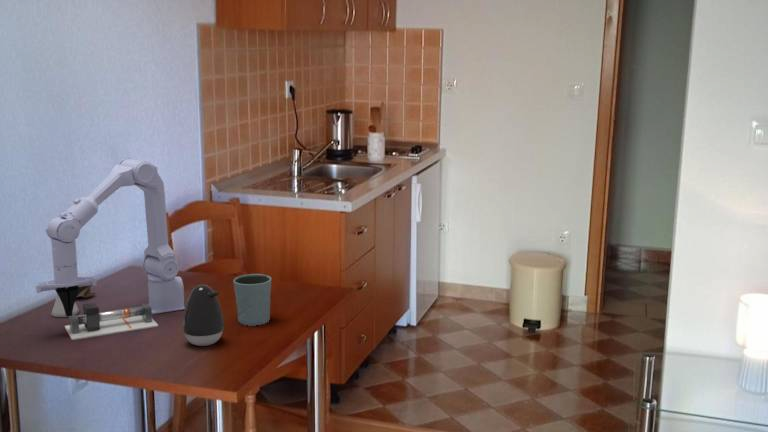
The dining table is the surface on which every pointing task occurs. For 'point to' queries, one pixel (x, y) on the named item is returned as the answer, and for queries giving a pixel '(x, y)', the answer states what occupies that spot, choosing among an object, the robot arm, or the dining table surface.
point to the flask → (62, 309)
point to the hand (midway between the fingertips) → (68, 315)
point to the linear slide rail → (113, 316)
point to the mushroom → (85, 291)
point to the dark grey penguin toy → (203, 317)
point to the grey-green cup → (253, 298)
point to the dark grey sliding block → (91, 316)
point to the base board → (112, 327)
